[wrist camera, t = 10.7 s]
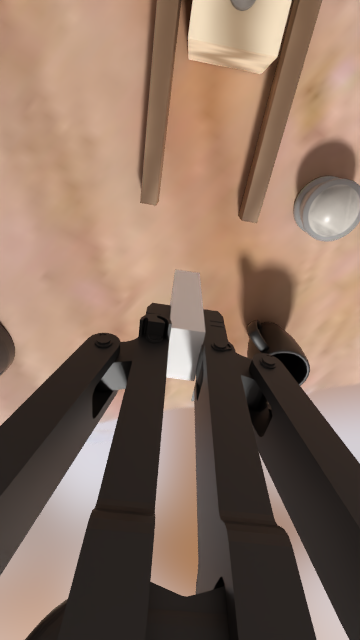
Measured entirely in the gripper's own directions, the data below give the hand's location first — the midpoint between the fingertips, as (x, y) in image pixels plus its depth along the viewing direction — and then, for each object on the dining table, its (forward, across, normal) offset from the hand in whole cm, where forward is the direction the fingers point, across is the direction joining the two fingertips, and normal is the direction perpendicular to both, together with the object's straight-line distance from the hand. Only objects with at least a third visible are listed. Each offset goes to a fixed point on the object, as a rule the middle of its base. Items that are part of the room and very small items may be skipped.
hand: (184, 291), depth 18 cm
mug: (+25, +16, -16) cm, 33 cm away
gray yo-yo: (+25, +18, +4) cm, 31 cm away
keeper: (+25, +2, +19) cm, 31 cm away
